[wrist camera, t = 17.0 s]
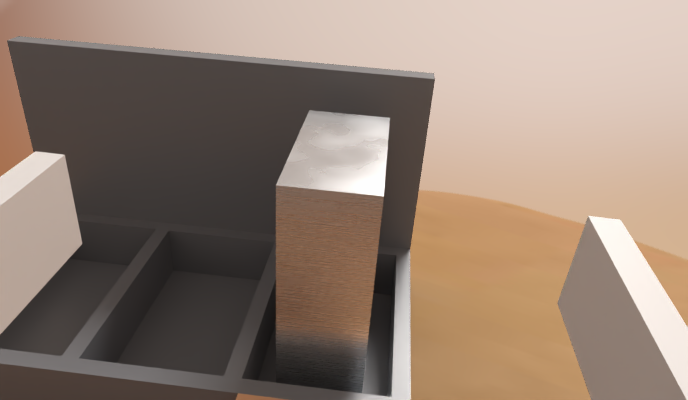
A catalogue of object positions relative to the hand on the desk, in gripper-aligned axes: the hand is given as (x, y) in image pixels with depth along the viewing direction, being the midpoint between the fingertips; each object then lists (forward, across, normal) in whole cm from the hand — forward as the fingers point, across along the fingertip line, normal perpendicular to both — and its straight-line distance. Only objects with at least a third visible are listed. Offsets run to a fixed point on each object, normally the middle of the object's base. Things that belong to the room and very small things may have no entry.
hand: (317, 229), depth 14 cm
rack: (+10, -7, -15) cm, 19 cm away
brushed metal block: (+10, 0, -14) cm, 17 cm away
